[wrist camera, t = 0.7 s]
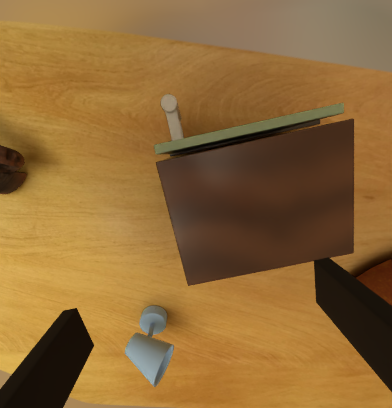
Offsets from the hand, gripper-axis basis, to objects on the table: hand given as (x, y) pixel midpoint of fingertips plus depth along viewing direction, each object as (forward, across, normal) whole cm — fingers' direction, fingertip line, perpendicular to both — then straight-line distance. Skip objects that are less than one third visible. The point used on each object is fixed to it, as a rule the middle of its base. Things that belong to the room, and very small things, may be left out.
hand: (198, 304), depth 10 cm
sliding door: (+18, +6, +11) cm, 22 cm away
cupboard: (+19, +9, +3) cm, 21 cm away
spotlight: (+19, -11, -18) cm, 28 cm away
